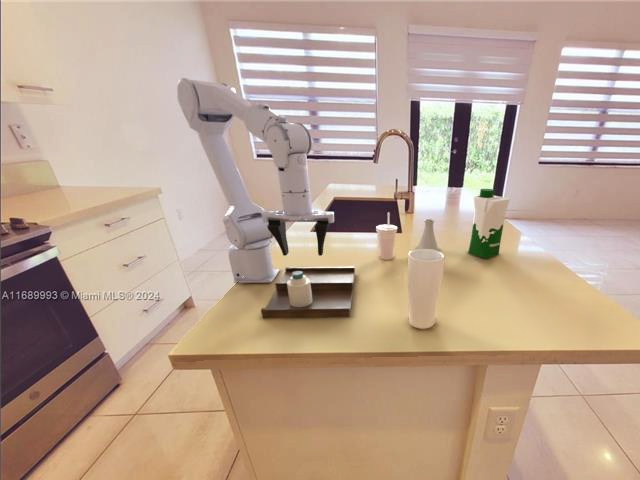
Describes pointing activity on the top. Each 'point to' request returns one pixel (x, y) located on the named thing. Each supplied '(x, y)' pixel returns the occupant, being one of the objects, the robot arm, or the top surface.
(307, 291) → the bottle
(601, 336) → the top surface
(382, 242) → the smoothie
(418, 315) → the drinking glass
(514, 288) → the top surface
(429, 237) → the flask
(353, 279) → the rack
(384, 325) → the top surface
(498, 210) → the milk carton
